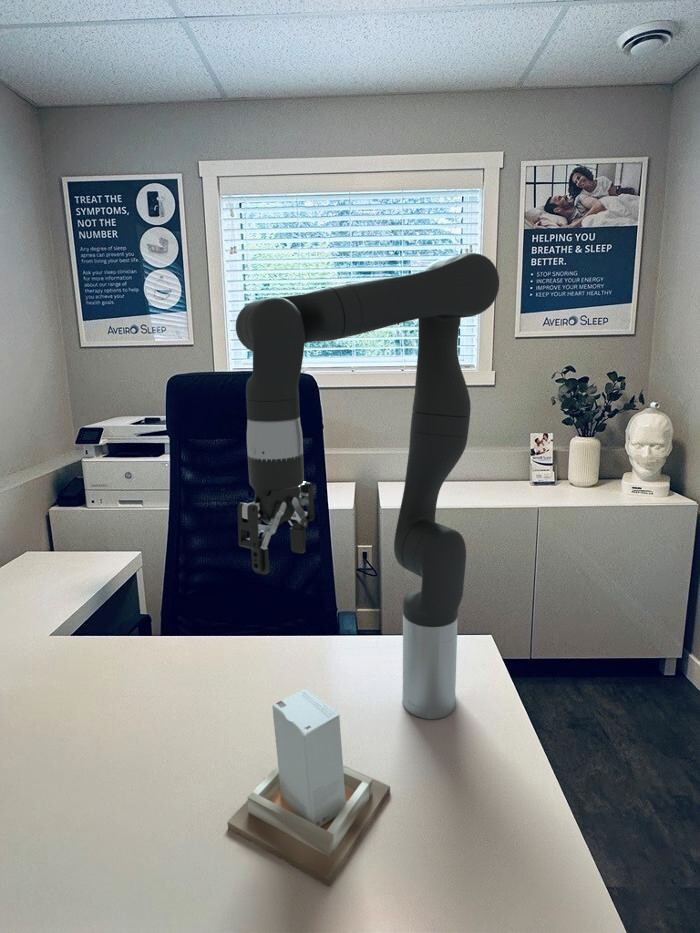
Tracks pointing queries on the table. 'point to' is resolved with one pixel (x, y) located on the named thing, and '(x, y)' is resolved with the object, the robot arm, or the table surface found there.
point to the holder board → (309, 824)
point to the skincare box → (309, 757)
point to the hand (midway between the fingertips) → (280, 561)
